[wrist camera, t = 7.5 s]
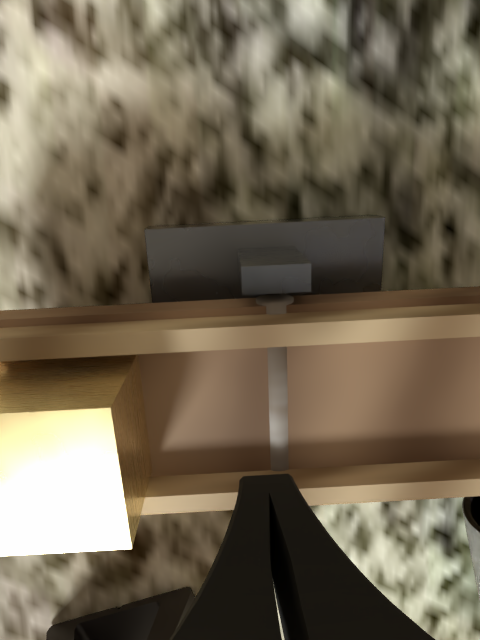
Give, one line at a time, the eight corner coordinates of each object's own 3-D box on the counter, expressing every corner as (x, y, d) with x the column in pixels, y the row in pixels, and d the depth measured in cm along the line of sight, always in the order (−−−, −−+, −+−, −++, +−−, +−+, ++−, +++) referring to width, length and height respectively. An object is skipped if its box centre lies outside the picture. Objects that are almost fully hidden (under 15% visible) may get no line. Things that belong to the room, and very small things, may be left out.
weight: (137, 353, 16) (110, 407, 13) (152, 469, 18) (131, 549, 14) (0, 360, 16) (-70, 417, 12) (26, 475, 18) (-29, 557, 14)
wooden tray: (583, 277, 17) (640, 294, 15) (547, 459, 20) (591, 498, 17) (-44, 309, 17) (-88, 331, 15) (2, 489, 20) (-29, 533, 17)
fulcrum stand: (375, 215, 20) (424, 227, 15) (363, 464, 24) (398, 536, 19) (148, 226, 20) (125, 243, 15) (175, 476, 24) (163, 552, 19)
